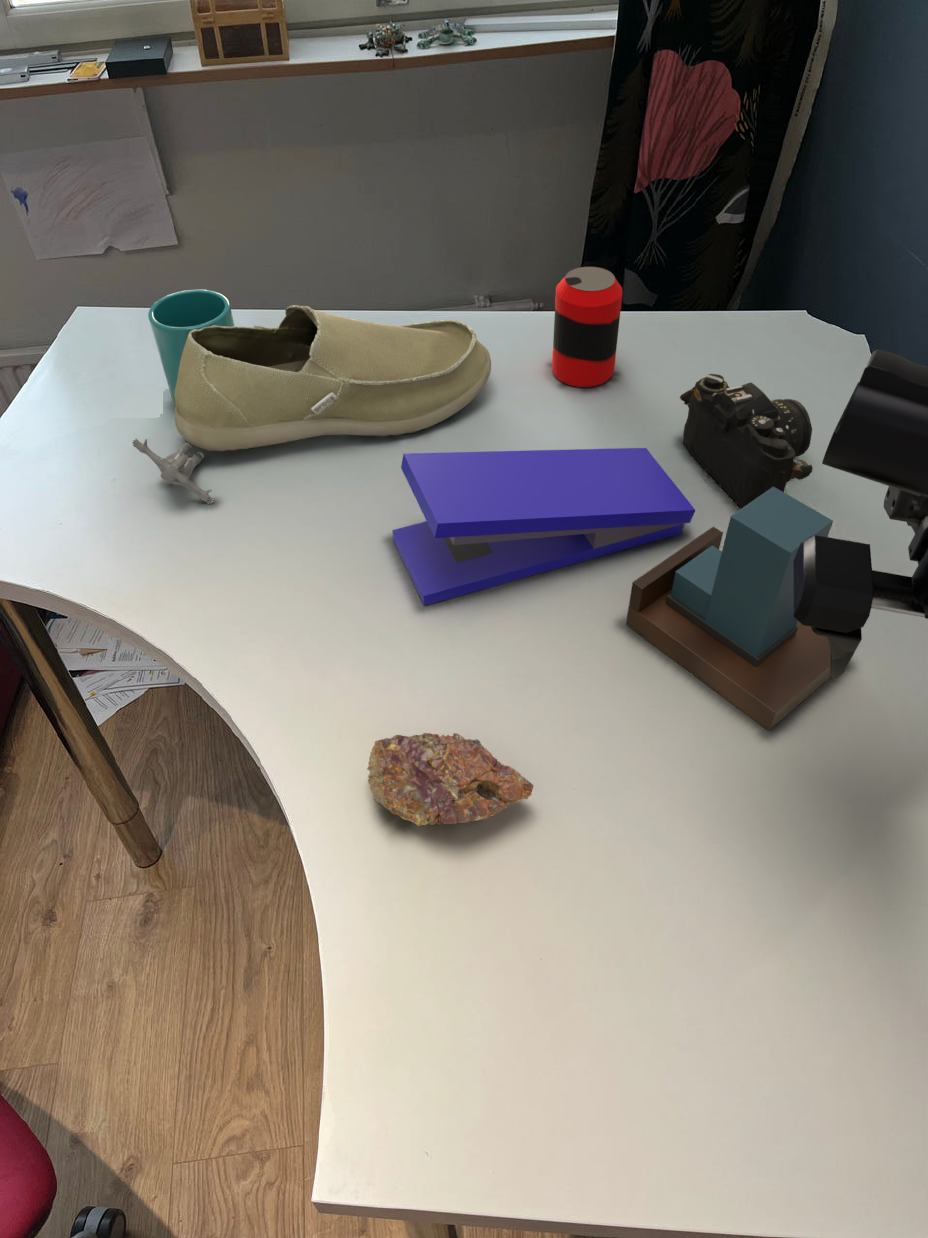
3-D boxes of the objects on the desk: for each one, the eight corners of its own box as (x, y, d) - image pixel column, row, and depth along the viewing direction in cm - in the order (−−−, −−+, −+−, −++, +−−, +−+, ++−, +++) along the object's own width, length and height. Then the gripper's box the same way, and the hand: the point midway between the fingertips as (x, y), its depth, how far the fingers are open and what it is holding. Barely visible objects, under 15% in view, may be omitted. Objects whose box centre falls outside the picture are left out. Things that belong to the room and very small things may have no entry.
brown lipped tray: (846, 663, 81) (864, 621, 77) (768, 731, 76) (784, 689, 72) (703, 568, 90) (713, 525, 86) (625, 624, 85) (632, 581, 81)
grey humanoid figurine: (244, 463, 103) (222, 490, 95) (214, 501, 105) (189, 530, 97) (169, 403, 100) (139, 425, 92) (139, 443, 102) (108, 468, 94)
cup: (251, 358, 117) (233, 274, 109) (246, 413, 109) (226, 326, 101) (179, 363, 117) (156, 279, 109) (168, 418, 109) (142, 331, 100)
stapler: (391, 535, 94) (382, 457, 87) (638, 471, 100) (649, 393, 93) (427, 612, 86) (421, 534, 79) (691, 537, 93) (708, 458, 85)
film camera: (849, 482, 98) (878, 402, 91) (776, 533, 93) (800, 453, 85) (717, 409, 107) (734, 331, 100) (644, 452, 102) (656, 373, 95)
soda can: (543, 360, 115) (547, 268, 106) (600, 350, 117) (609, 258, 108) (563, 393, 110) (569, 299, 102) (623, 382, 112) (634, 288, 103)
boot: (796, 634, 80) (836, 521, 71) (755, 667, 78) (792, 554, 68) (705, 574, 86) (731, 461, 76) (665, 603, 83) (687, 490, 74)
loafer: (510, 413, 108) (515, 313, 99) (193, 485, 99) (166, 382, 89) (466, 354, 117) (467, 257, 108) (171, 415, 107) (145, 314, 98)
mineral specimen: (504, 714, 76) (518, 704, 70) (525, 807, 75) (542, 806, 68) (360, 745, 74) (361, 738, 68) (379, 841, 73) (382, 843, 66)
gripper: (1153, 453, 55) (1028, 625, 67) (831, 405, 58) (765, 579, 69) (1207, 585, 48) (1056, 751, 60) (837, 524, 50) (762, 695, 62)
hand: (902, 686), depth 63 cm, fingers open, 9 cm apart
